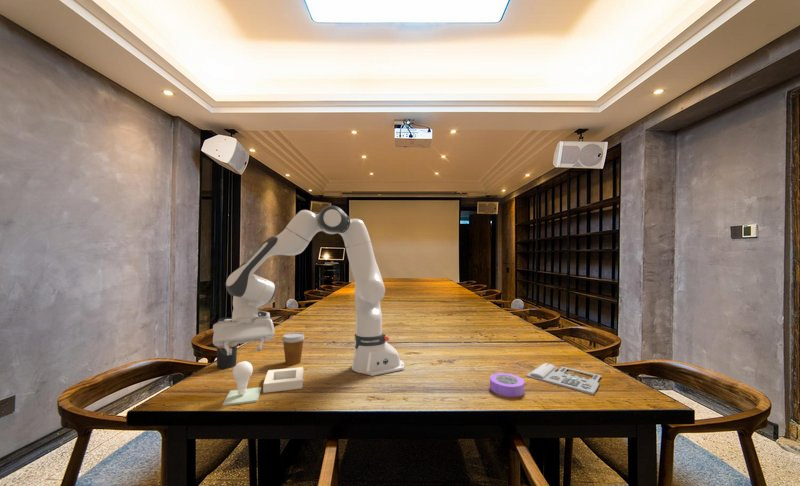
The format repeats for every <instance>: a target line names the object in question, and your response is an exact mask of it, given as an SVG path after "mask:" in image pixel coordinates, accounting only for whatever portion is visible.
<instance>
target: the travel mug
mask: <svg viewBox="0 0 800 486" xmlns="http://www.w3.org/2000/svg"><path fill="white" fill-rule="evenodd" d="M229 320H232V316H229V317H228V316H227V317H221V318H219V319H218V320H217V323H218V322H219V321H229ZM229 348H232V355H227V351H226V349H225V348H224V345H222V346H216V368H217V369H219V370H226V369H231V368H234V367H235V366H236V364H237V359H238V358H237V354H238V344H231V345H229Z"/></svg>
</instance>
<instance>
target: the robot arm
mask: <svg viewBox="0 0 800 486" xmlns="http://www.w3.org/2000/svg"><path fill="white" fill-rule="evenodd" d="M319 232H320V233H323V234H327V235H335V234H338V235H340V236H341V237H342V240H343V242H344V243H343V244H344V247H345V251H346V255H347V259H348V262H349V265H350V266H349V267H350V269H351V273H352V276H353V279H354V282H355V284H354V303H355V304H354V306H355V334H354V342H353V344H354V356H353V359H352V360H353V361H352V365H351V367H350V368H351V370H352V371H354V372H356V373H358V374H365V375H368V376H370V377H372V376H373V377H374V376H378V375H383V374H390V373H395V372H398V371H403V370H405V368H406V367H405V366H406V365H405V363H404V361H403V360H402V359H400V355H399V352H398V351H397V349H396V348H395V347H393V346H392V345H391V344H390V343H388V342H389V340H390V337H389V336H388V335H387V334H385V333H383V332H382V331H383V329H382V328H383V314H382V307H381V301H382V300H383V298H385V293H386V288H385V283H384V280H383V277H382V274H381V271H380V268H379V266H378V263H377V260H376V257H375V253H374V249H373V244H372V240H371V238H370V235H369V234H370V233H369V231H368V228H367V226H366V224H365V223H364V221H363V220H361V219H360V218H350V217H349V215H348V214H347V213H346V212H345V211H344V210H343V209H342V208H341V207H338V205H337V206H336V205H328V206H325V207H323V208H322V209H321V210H320V212H319V213H315V212H313V211H311V210H308V209H302V210H300V211H298V212H297V213H296V214H295V215H294V216H293V217H292V219H291V220H290V221H289V223H287V225H286V226H285V228H284V229H283V230H282V231H281V232H280V233H279V234H277V235H275V236H270V237H268V238H267V239H266V240H264V241H263V242H261V244H260V245H259V246H258V247H256V249H255V250H254V251H253V252H252V253H251V254H250V256H249V257H247V259H245V261H244V262H243V263H242V264H241V265H240V266H239V267H237V268H236V269H234V270H233V271H232V272H231V273H230V274H229V276H228V277H227V278H226V281H225V288H226V291H227V292H228V294H229V295H230V296H232V307H233V309H232V315H231V317H232V320H229V321H219V322H218V321H217V322H216V323H214V324H213V326H212V332H213V336H212V344H213V345H214V347H217V346H222V345H224V348H225V349H226V351H227V355H232V348H229V345H231V344H237V345H239V344H246V343H255V342H259V344H257V345H256V352H262V347H263V346H264V344H265V341H271V340H273V339H274V338H275V326H274V322H273V320H272V319H271V314H270V312H268V311H262V310H259V309H258V308H261V307H264V306H265V305H267V304H269V303H271V302H272V301H273V300H274V298H275V296H276V291H277V287H276V284H275V282H273V281H271V280H269V279H267V278H264V277H261V276H259V275H257V274H255V272H256V271H257V270H258V269H259V268H260V266H261V265H262V264H263V263H264V262H265V261H266V260H267V259H268V258H270V257H272V256H289V257H290V256H297V255H300V254H302V253H303V252H304V251H305V249H306V248H307V247H308V245H309V244H310V242H311V241H312V240H313V238H314V236H316V234H317V233H319Z"/></svg>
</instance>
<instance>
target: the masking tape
mask: <svg viewBox="0 0 800 486" xmlns="http://www.w3.org/2000/svg"><path fill="white" fill-rule="evenodd" d="M489 389H490V390H491V392H493V393H494V394H496V395H499V396H502V397H503V396H504V397H507V398H516V397H517V398H518V397H521V396H524V394H525V380H524V379H523V378H522V377H520V376H518V375H515V374H512V373H508V372H507V373H506V372H498V373H497V372H496V373H494V374H491V375H490V377H489Z"/></svg>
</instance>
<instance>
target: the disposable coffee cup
mask: <svg viewBox="0 0 800 486" xmlns="http://www.w3.org/2000/svg"><path fill="white" fill-rule="evenodd" d="M305 338H306V337H305V334H304V333H302V332H289V333H288V332H287V333H286V334H284V335H282V338H281V340H282V343H283V352H284V360H285V365H289V366H294V365H297V364H300V363H301V361H302V360H301V359H302V354H303V348H304V347H303V345H304V340H305Z"/></svg>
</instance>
